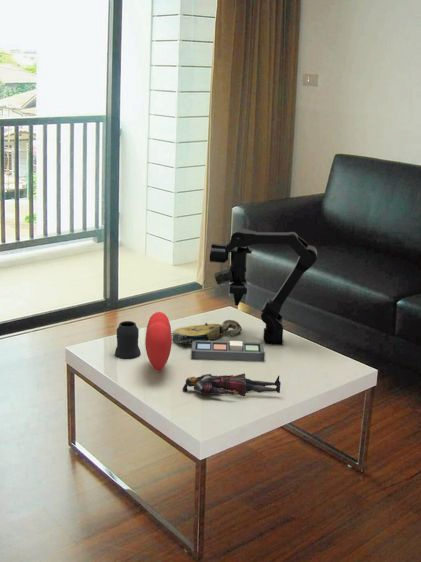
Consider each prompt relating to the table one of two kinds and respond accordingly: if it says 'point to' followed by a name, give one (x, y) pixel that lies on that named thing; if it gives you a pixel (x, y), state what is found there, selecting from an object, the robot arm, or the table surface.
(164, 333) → the heart
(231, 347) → the key cream
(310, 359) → the table surface
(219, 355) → the gray cubby shelf
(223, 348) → the key terracotta
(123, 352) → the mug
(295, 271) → the robot arm
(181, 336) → the pulley block
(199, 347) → the key blue
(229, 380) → the figurine
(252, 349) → the key sage
